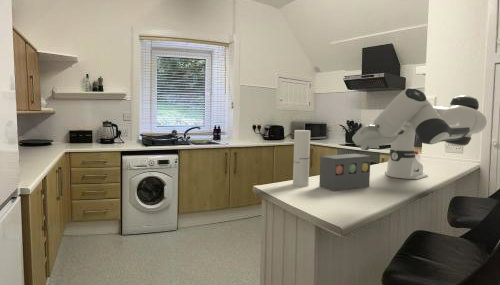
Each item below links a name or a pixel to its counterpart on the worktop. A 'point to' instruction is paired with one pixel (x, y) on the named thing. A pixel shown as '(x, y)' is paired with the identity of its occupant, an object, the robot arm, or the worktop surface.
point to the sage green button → (352, 168)
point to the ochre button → (364, 167)
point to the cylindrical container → (301, 158)
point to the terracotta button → (339, 169)
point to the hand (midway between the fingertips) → (363, 149)
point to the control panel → (343, 172)
